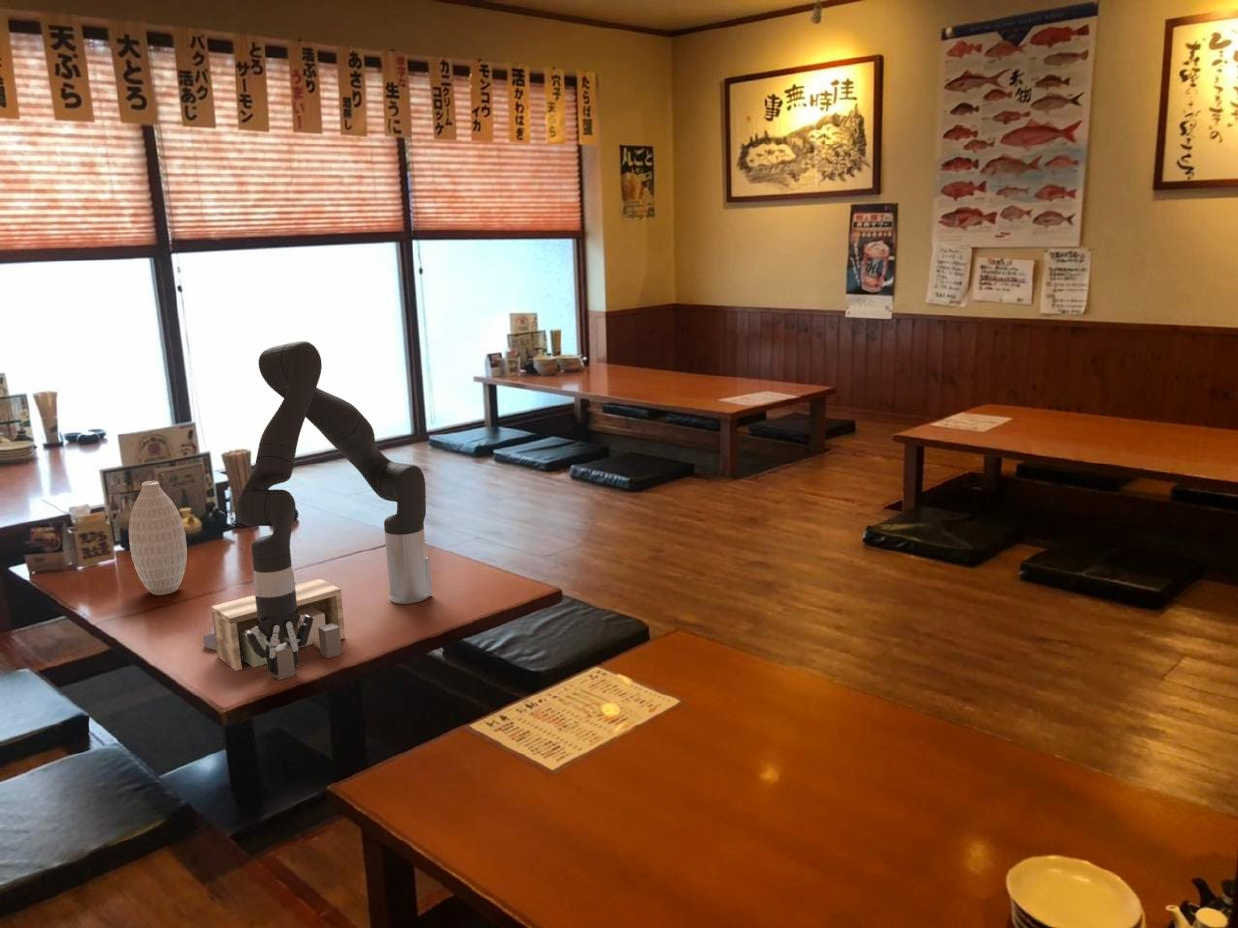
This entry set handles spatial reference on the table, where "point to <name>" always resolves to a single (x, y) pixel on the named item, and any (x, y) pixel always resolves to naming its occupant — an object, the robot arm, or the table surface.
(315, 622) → the cream block
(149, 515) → the vase
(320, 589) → the shelf
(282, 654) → the sage block
